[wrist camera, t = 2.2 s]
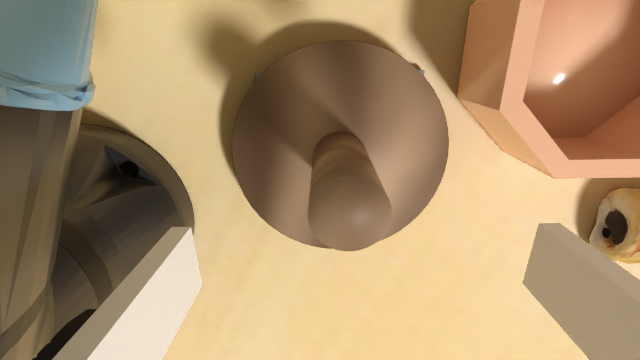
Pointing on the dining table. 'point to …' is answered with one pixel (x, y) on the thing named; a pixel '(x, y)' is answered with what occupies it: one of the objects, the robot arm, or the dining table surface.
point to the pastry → (618, 226)
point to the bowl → (557, 83)
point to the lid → (340, 144)
